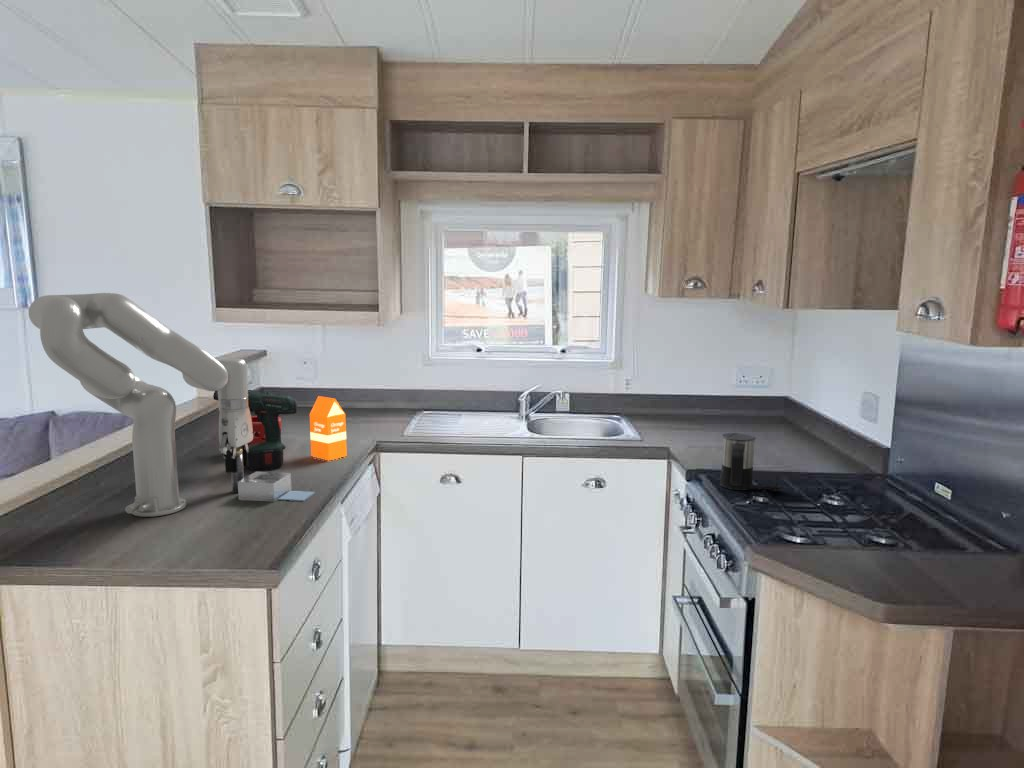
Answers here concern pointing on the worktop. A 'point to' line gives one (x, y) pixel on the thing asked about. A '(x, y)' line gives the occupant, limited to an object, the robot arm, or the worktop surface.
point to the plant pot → (259, 430)
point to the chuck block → (264, 486)
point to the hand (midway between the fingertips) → (237, 468)
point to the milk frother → (740, 463)
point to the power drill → (268, 428)
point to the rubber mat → (296, 495)
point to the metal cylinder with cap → (240, 473)
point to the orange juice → (327, 429)
